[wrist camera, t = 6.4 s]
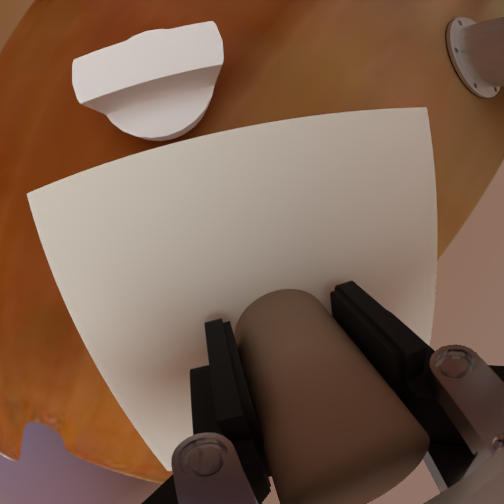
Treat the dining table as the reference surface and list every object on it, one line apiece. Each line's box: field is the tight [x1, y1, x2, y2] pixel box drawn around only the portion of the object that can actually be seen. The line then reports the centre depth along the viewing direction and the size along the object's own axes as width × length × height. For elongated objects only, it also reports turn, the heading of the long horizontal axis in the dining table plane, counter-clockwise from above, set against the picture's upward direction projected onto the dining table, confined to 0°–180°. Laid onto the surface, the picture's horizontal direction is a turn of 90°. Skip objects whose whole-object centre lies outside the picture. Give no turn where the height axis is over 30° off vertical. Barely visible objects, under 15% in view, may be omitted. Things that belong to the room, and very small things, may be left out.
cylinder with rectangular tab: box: [72, 21, 224, 141], centre depth 20 cm, size 9×9×12 cm
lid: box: [27, 107, 437, 504], centre depth 8 cm, size 13×13×7 cm
